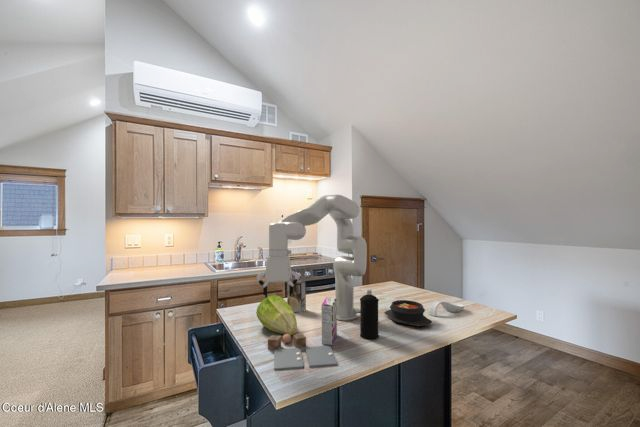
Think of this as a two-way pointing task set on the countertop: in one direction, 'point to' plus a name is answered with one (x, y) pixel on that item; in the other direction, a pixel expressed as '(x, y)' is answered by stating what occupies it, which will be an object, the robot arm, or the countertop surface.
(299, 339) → the walnut cube
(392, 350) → the countertop surface
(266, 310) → the lettuce
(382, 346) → the countertop surface
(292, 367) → the pad two
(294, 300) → the coffee box
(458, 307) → the white slipper
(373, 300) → the aerosol can
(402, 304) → the casserole
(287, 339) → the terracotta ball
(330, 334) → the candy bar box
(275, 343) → the walnut cube
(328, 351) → the pad one
